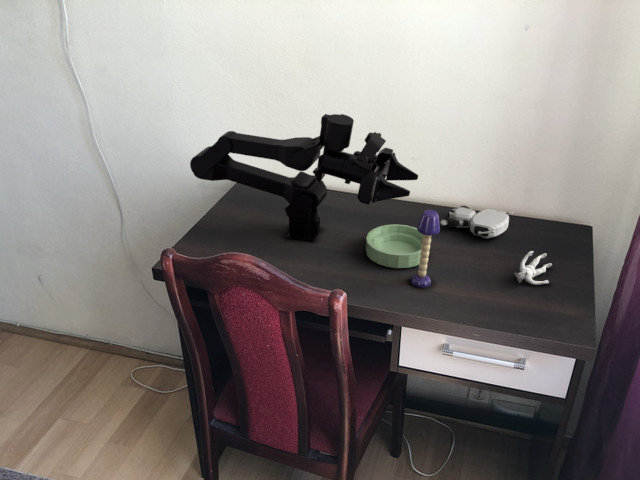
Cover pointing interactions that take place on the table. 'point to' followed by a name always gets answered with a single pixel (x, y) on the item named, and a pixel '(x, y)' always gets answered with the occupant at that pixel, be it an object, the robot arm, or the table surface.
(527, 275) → the white figurine
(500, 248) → the table surface
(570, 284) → the table surface
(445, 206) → the table surface
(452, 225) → the robot toy
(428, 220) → the toy lamp
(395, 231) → the bowl
